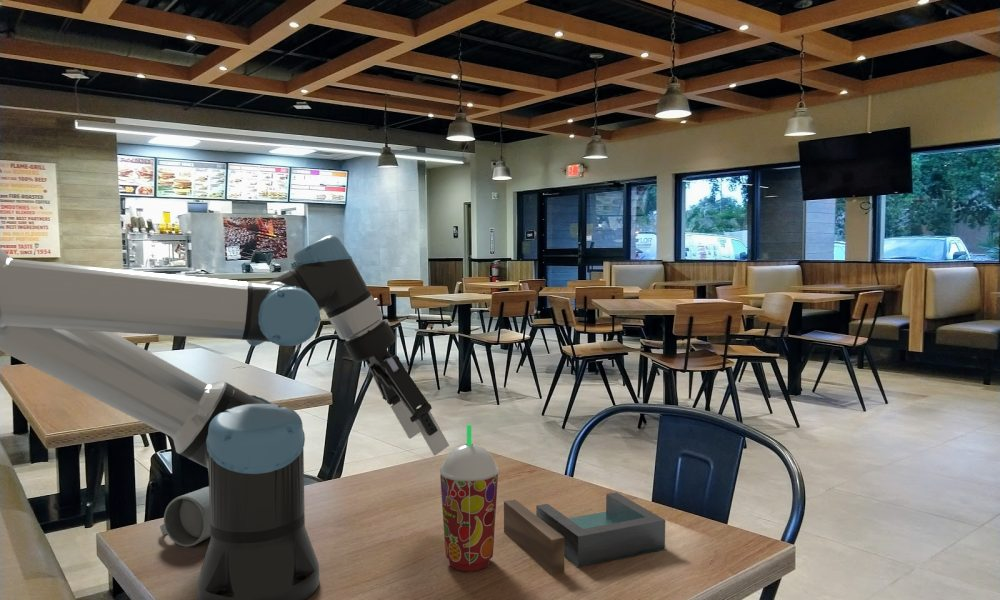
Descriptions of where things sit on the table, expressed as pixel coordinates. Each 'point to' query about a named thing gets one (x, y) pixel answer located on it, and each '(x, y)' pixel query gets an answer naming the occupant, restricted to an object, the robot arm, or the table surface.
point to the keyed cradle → (607, 531)
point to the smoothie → (469, 505)
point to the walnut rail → (534, 536)
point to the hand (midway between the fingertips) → (428, 441)
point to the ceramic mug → (188, 518)
